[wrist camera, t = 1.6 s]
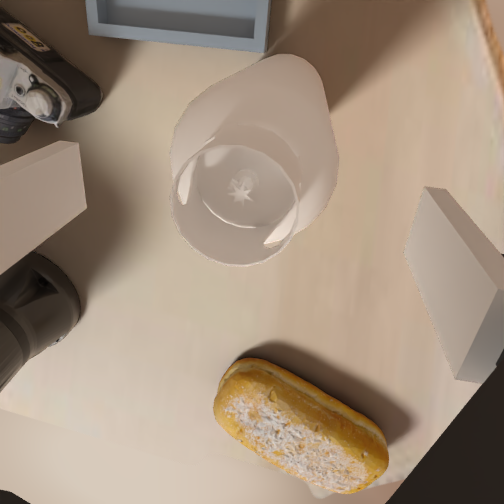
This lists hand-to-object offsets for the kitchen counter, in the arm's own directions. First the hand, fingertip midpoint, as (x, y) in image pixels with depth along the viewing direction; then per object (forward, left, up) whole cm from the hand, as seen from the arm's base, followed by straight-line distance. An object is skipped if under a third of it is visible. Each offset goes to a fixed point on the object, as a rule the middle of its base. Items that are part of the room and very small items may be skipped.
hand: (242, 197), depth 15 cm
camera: (-27, -1, -27) cm, 38 cm away
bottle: (0, 0, -27) cm, 27 cm away
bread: (+8, -43, -27) cm, 51 cm away
